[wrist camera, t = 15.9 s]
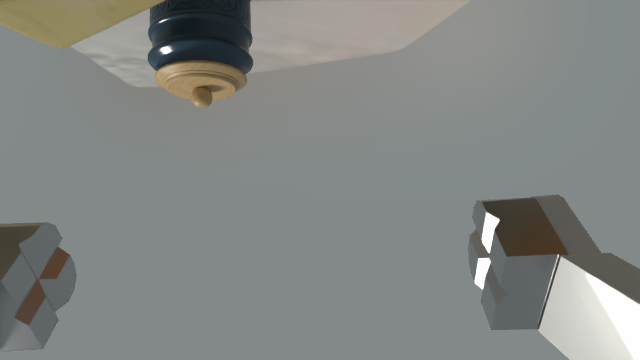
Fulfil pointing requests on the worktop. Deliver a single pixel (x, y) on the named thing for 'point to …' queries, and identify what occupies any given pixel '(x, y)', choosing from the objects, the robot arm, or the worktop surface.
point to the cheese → (67, 17)
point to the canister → (201, 47)
